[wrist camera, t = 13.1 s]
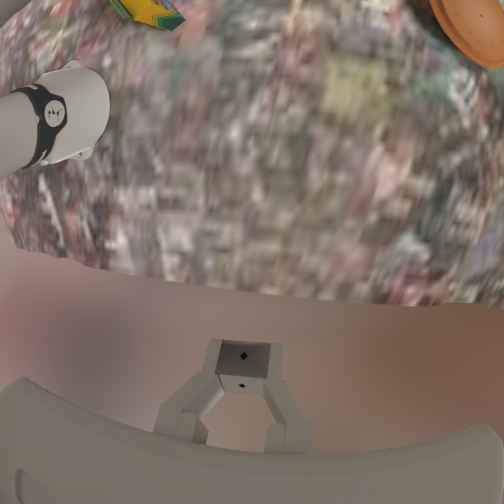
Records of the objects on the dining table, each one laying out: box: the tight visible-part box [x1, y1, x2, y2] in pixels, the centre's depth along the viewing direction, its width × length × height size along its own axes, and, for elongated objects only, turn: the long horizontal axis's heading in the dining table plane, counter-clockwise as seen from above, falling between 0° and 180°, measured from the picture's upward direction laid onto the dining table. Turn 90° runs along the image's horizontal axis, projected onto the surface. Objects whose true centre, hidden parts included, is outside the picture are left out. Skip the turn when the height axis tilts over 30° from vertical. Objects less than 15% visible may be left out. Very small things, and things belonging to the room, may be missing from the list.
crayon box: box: [109, 0, 186, 31], centre depth 20 cm, size 7×3×12 cm, turn 33°
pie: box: [429, 0, 504, 68], centre depth 14 cm, size 16×16×5 cm
